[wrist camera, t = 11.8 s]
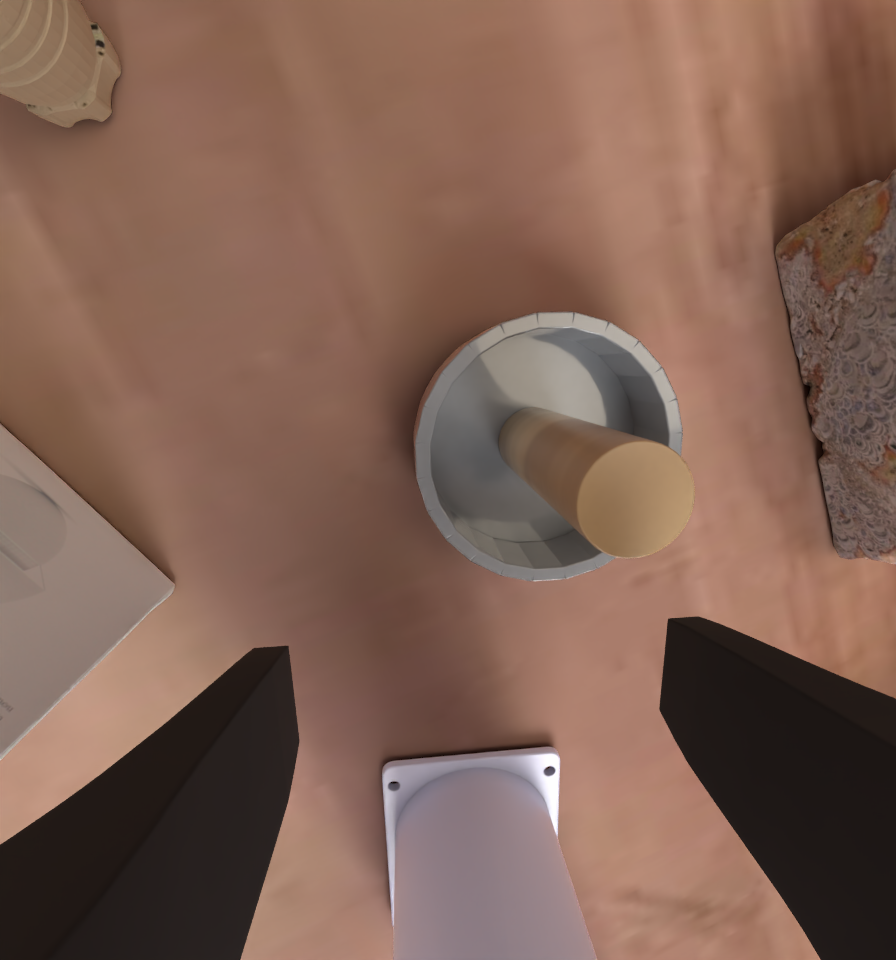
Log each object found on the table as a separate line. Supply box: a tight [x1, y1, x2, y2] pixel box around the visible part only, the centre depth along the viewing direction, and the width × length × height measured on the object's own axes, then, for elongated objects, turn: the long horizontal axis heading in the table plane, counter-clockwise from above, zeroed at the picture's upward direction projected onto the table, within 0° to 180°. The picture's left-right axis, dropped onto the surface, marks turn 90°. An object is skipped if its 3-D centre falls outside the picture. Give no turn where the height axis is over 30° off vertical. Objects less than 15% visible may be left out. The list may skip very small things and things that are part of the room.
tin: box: [413, 311, 683, 581], centre depth 17 cm, size 9×9×3 cm
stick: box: [499, 407, 695, 559], centre depth 14 cm, size 3×3×8 cm
